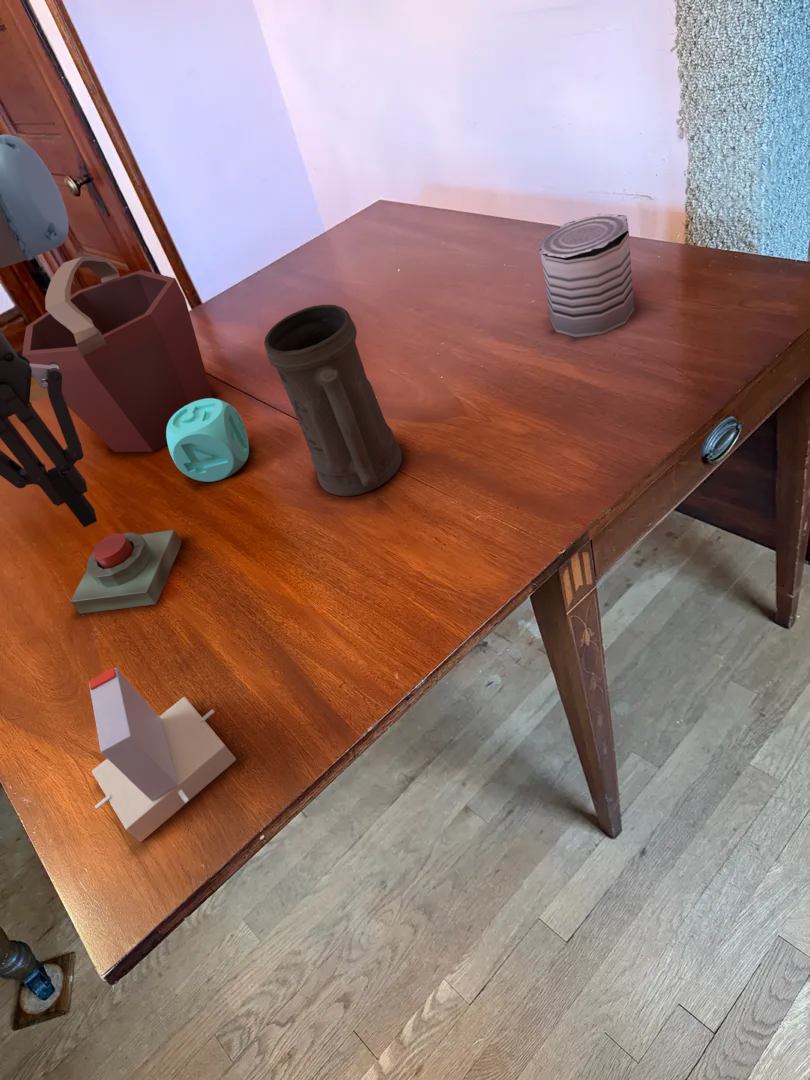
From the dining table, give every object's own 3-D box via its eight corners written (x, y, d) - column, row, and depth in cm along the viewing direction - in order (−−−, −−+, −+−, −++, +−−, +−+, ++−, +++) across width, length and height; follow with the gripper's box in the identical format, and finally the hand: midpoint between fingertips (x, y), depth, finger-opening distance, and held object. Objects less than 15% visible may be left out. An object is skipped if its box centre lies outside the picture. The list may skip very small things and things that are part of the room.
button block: (156, 604, 84) (138, 580, 81) (80, 614, 86) (60, 591, 84) (182, 542, 91) (167, 518, 88) (111, 552, 93) (94, 529, 91)
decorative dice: (245, 475, 98) (219, 426, 92) (189, 488, 99) (160, 440, 94) (252, 439, 104) (228, 391, 98) (199, 452, 105) (173, 405, 100)
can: (597, 345, 97) (588, 258, 90) (533, 327, 105) (519, 245, 97) (652, 303, 101) (648, 215, 93) (585, 288, 109) (576, 206, 101)
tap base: (139, 870, 61) (122, 856, 59) (86, 779, 69) (70, 764, 67) (258, 765, 65) (246, 749, 63) (196, 691, 73) (183, 675, 71)
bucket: (197, 460, 103) (101, 294, 87) (62, 482, 109) (-52, 330, 92) (242, 365, 121) (169, 212, 104) (124, 388, 126) (37, 246, 110)
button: (126, 566, 84) (118, 555, 83) (95, 570, 85) (87, 560, 84) (138, 541, 87) (130, 531, 86) (108, 546, 88) (100, 535, 87)
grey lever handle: (179, 785, 62) (129, 733, 57) (151, 801, 62) (98, 750, 57) (161, 718, 68) (114, 665, 63) (136, 732, 68) (86, 679, 62)
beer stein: (304, 465, 96) (244, 331, 81) (376, 426, 97) (330, 288, 83) (355, 533, 85) (297, 392, 71) (435, 488, 87) (393, 342, 73)
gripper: (13, 285, 70) (138, 474, 86) (-122, 345, 68) (31, 527, 84) (16, 310, 65) (149, 507, 81) (-130, 376, 63) (35, 565, 79)
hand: (89, 517), depth 82 cm, fingers closed
